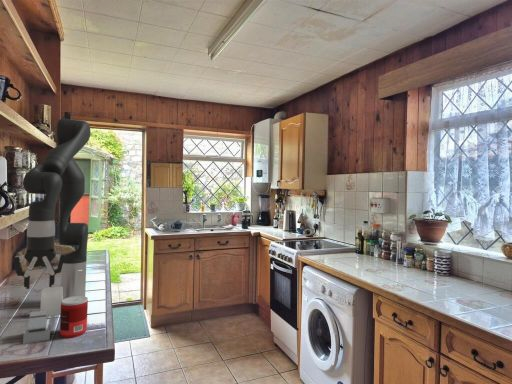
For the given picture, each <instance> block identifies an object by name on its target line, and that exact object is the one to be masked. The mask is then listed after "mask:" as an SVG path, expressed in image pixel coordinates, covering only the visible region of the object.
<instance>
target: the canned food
mask: <svg viewBox="0 0 512 384" xmlns="http://www.w3.org/2000/svg"><path fill="white" fill-rule="evenodd" d="M88 299H89V298H88V297H87V296H85V297H84V296H74V297H69V298H65V299H63V300H62V301H61V314H60V315H59V317H60V320H59V324H60V325H59V334H60V336H61V337H62V338H66V339H69V338H70V339H71V338H77V337H80V336H82V335H84V334H85V333H86V332H87V330H88V328H87V327H88V307H89V306H88V305H89V303H88V302H89V300H88Z"/></svg>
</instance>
